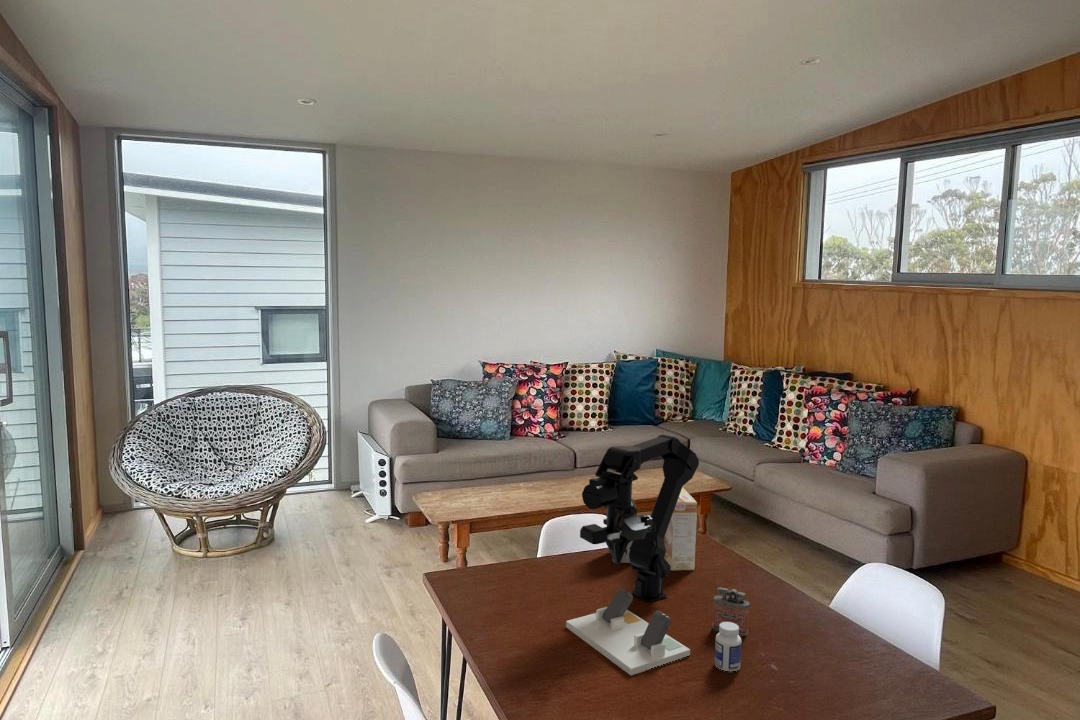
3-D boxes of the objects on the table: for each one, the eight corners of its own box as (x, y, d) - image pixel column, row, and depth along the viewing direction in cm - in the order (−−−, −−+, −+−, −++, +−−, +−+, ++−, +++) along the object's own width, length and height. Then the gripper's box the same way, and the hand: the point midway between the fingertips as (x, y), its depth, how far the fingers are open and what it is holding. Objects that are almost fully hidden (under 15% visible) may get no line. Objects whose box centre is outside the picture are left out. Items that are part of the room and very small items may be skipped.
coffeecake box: (656, 550, 223) (659, 486, 221) (680, 550, 224) (683, 486, 221) (669, 570, 208) (672, 502, 206) (695, 570, 209) (698, 502, 207)
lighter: (749, 632, 174) (751, 590, 172) (746, 638, 170) (749, 596, 169) (714, 624, 177) (716, 583, 176) (710, 630, 174) (713, 589, 173)
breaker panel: (621, 612, 182) (622, 576, 181) (689, 656, 162) (691, 616, 161) (566, 627, 174) (567, 589, 173) (630, 675, 154) (632, 633, 153)
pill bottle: (741, 662, 160) (743, 622, 159) (739, 675, 155) (741, 633, 154) (715, 658, 161) (717, 618, 160) (712, 670, 157) (714, 629, 156)
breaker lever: (604, 620, 175) (623, 590, 177) (616, 627, 171) (635, 597, 173) (600, 616, 174) (619, 586, 176) (611, 624, 170) (631, 593, 172)
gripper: (607, 516, 168) (605, 583, 169) (672, 504, 177) (669, 568, 179) (579, 502, 177) (577, 566, 179) (641, 491, 187) (639, 552, 189)
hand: (617, 563), depth 181 cm, fingers closed
